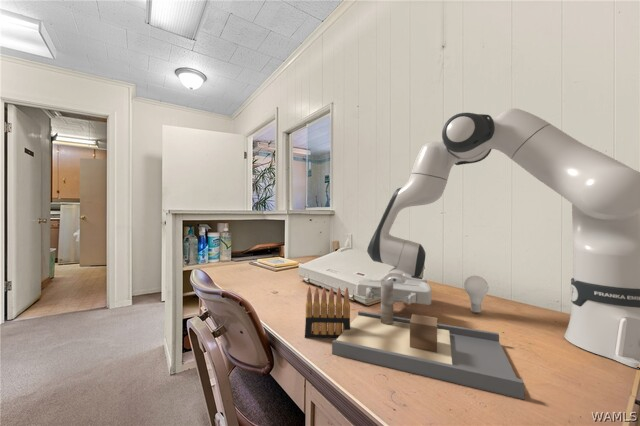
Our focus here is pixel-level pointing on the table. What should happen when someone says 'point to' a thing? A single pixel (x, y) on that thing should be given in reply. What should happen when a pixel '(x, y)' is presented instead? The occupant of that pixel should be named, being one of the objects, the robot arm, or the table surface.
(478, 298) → the lightbulb
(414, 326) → the walnut block
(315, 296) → the ammunition clip
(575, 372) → the table surface
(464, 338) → the rail base
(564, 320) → the table surface
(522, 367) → the table surface
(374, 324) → the sliding platform with post
